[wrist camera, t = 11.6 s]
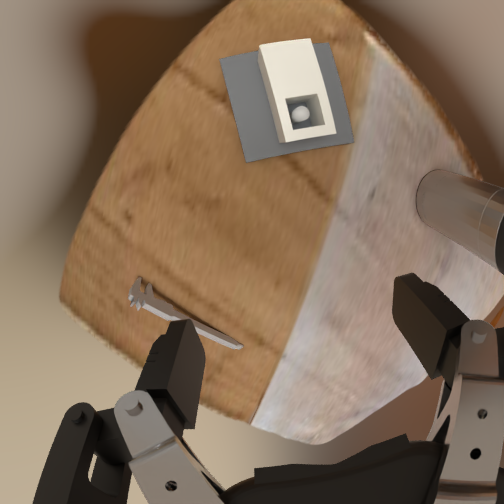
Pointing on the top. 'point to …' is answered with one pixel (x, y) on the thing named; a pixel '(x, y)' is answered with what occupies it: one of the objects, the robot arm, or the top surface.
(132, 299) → the caliper
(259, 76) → the pin plate
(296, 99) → the socket block
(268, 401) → the top surface
